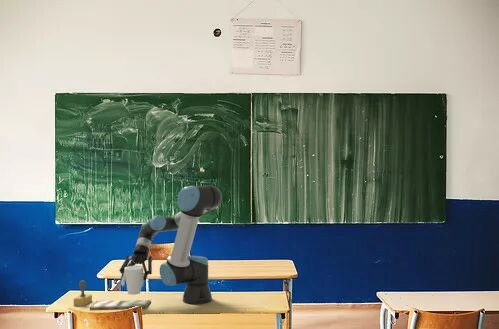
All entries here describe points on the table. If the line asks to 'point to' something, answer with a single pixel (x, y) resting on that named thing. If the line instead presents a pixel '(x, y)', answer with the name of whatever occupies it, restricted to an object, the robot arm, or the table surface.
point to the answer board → (119, 304)
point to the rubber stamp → (82, 296)
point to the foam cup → (133, 279)
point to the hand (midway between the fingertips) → (131, 285)
